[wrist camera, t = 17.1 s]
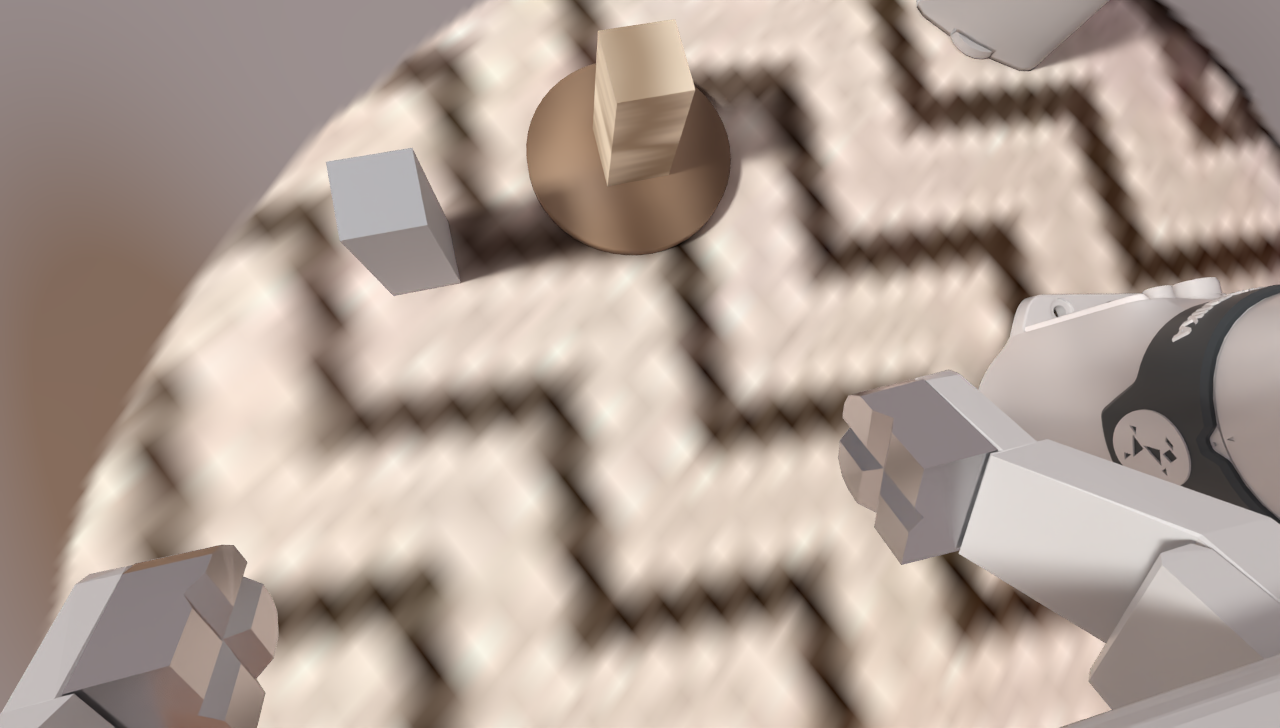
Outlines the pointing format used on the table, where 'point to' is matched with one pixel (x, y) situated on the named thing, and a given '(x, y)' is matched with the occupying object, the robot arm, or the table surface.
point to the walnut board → (629, 210)
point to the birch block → (640, 100)
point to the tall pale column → (1009, 26)
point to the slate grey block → (393, 221)
